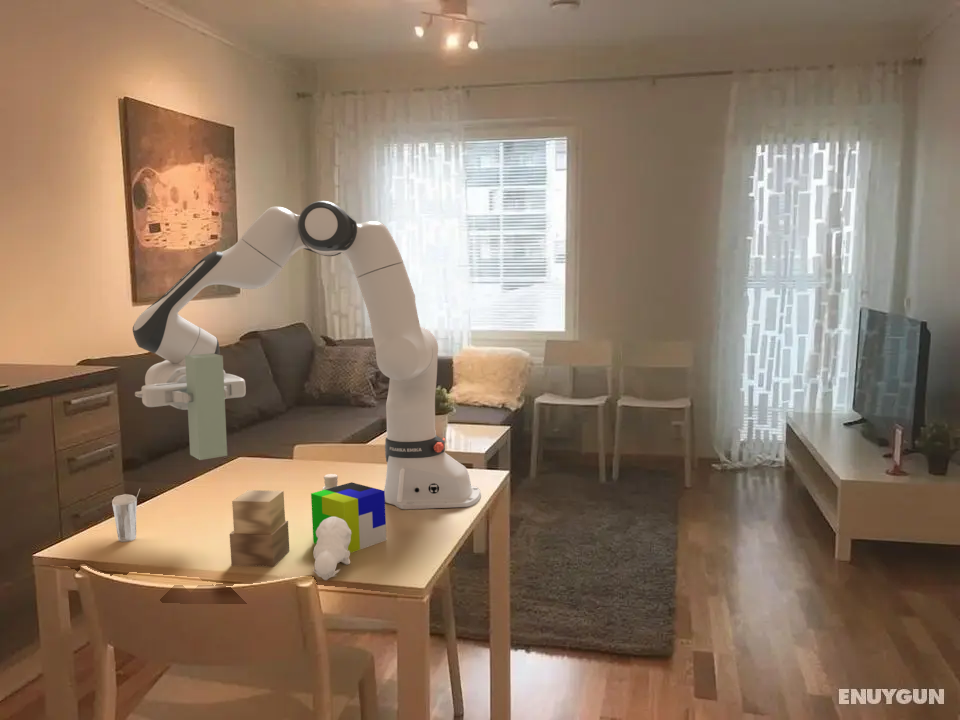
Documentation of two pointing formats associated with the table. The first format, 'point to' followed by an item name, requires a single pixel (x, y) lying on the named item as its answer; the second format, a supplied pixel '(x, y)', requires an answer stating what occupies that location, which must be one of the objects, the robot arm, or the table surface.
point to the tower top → (258, 512)
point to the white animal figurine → (331, 546)
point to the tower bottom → (259, 547)
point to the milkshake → (125, 516)
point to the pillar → (206, 406)
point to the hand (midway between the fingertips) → (207, 396)
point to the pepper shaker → (330, 481)
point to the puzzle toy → (352, 512)
